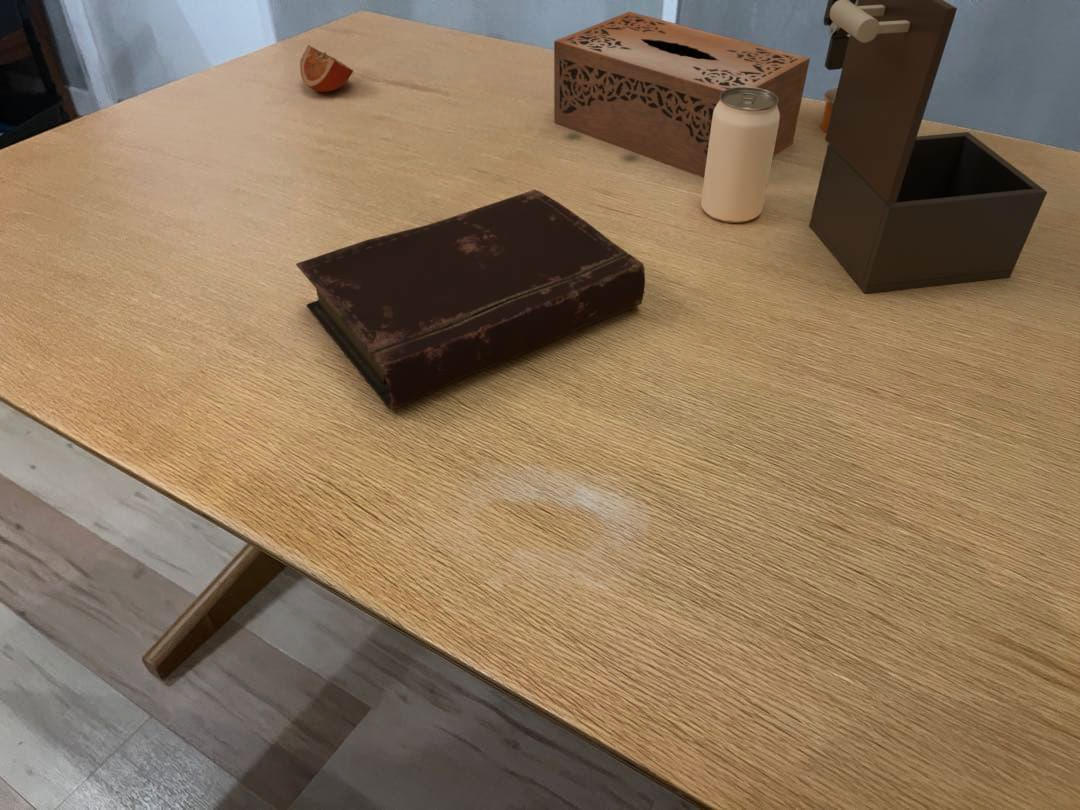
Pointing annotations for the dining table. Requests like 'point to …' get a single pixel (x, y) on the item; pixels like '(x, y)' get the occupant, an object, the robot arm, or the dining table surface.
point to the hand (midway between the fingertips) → (848, 81)
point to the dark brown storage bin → (928, 217)
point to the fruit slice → (322, 71)
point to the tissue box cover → (665, 85)
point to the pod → (828, 108)
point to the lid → (886, 83)
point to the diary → (468, 292)
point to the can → (740, 154)
